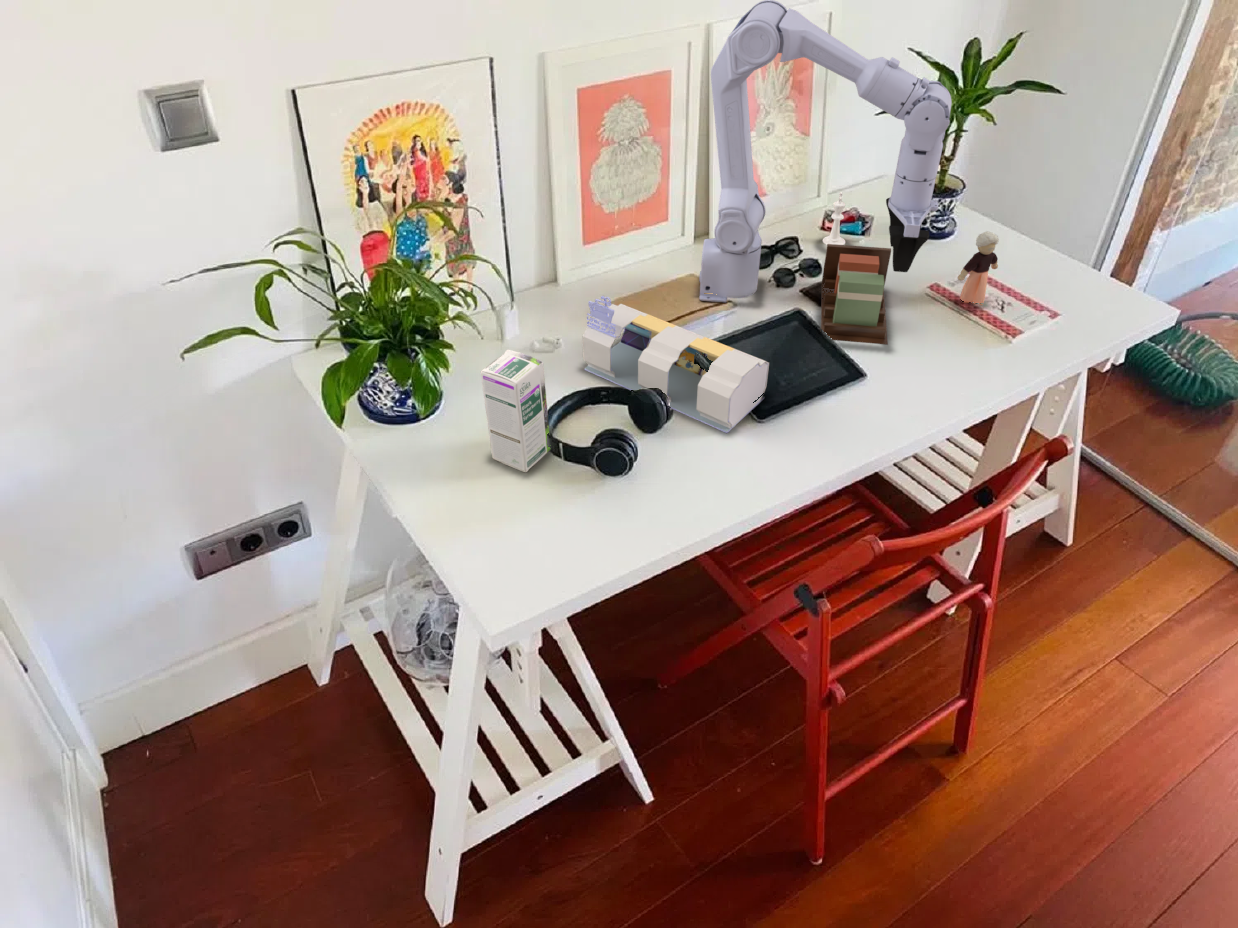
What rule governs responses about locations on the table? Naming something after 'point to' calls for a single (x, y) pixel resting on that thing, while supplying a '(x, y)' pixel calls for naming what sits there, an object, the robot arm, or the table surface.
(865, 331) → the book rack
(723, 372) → the diorama
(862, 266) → the terracotta book
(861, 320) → the green book
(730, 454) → the table surface
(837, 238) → the chess piece
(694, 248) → the table surface
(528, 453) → the syrup box
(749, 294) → the robot arm
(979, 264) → the grandmother figurine
